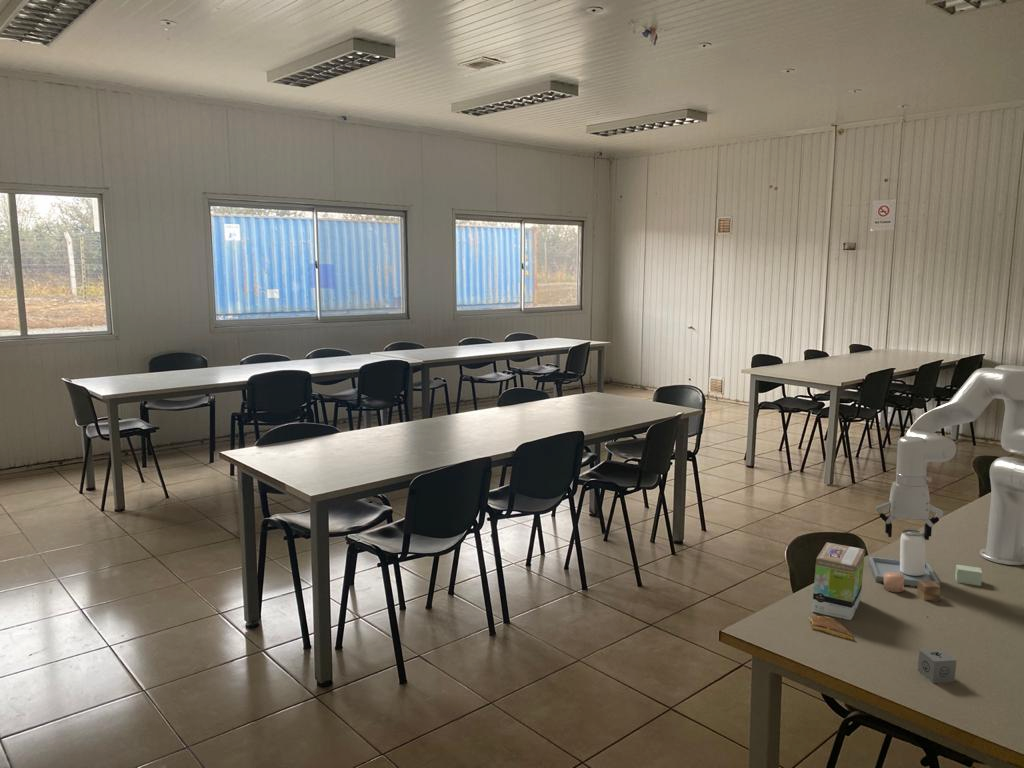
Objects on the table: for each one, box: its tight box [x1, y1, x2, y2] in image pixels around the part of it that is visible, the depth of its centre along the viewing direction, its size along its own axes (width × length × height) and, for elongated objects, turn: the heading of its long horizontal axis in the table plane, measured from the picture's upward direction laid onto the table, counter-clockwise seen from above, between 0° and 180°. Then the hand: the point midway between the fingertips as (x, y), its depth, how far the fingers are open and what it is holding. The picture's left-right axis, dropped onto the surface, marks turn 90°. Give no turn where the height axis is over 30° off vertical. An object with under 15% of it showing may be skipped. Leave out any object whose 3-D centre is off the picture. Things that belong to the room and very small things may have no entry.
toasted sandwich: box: [808, 615, 855, 641], centre depth 186 cm, size 11×8×2 cm
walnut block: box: [916, 581, 941, 602], centre depth 206 cm, size 4×4×4 cm
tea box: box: [811, 542, 866, 621], centre depth 199 cm, size 15×10×15 cm, turn 148°
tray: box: [868, 556, 941, 588], centre depth 221 cm, size 16×16×2 cm
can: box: [899, 529, 927, 576], centre depth 221 cm, size 6×6×12 cm
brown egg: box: [883, 572, 905, 593], centre depth 211 cm, size 5×5×4 cm
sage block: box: [954, 564, 983, 587], centre depth 217 cm, size 6×4×4 cm, turn 65°
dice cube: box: [917, 648, 957, 684], centre depth 165 cm, size 5×5×5 cm
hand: (907, 537), depth 220 cm, fingers open, 9 cm apart
